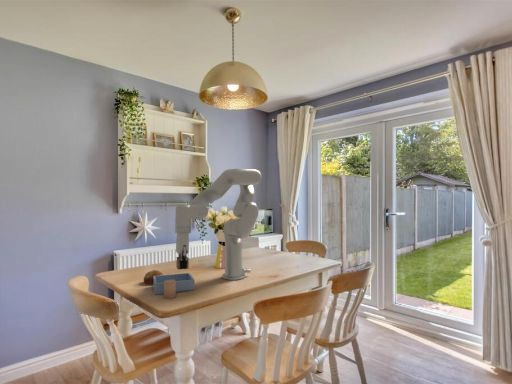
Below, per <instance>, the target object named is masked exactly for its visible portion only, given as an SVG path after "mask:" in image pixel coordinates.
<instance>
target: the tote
mask: <svg viewBox="0 0 512 384" xmlns="http://www.w3.org/2000/svg"><path fill="white" fill-rule="evenodd" d="M166 280H176V293H184V292H191V291H195V285H196V284H195V278H194V277H193V276H192V274H191V273H190V272H184V273H183V272H182V273H172V274H163V275H159V276H153V285H152V287H153V291H154V294H155V296H158V295H164V281H166Z"/></svg>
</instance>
